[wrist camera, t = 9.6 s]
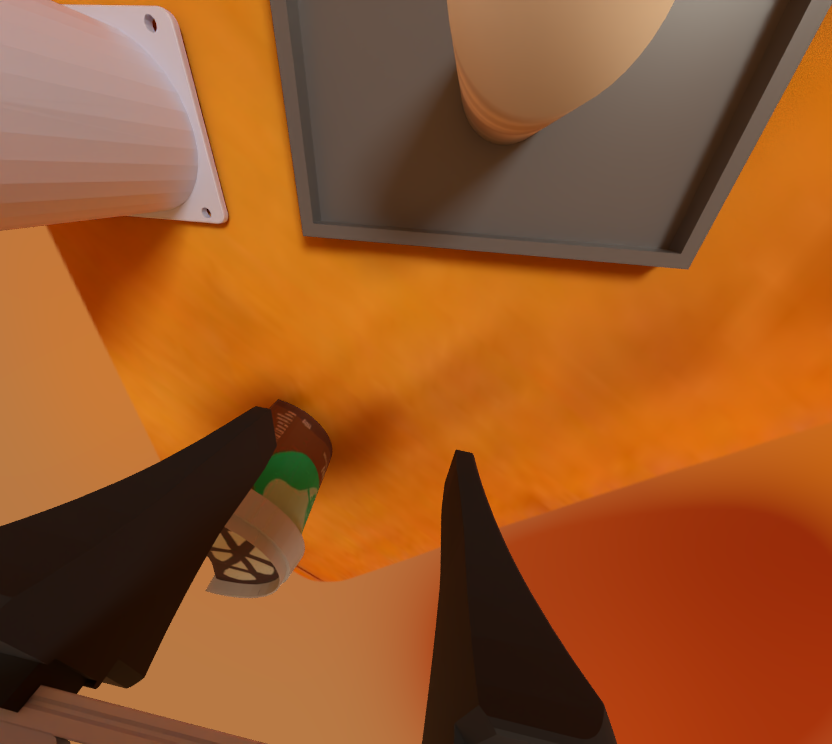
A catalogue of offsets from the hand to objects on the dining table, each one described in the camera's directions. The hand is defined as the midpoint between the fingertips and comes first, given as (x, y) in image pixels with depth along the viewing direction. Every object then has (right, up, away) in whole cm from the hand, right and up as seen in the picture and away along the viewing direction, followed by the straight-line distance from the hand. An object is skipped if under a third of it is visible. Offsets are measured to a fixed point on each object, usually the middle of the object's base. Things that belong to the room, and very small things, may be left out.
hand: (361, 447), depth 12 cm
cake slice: (-7, -4, +15) cm, 17 cm away
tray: (+6, +15, +1) cm, 16 cm away
